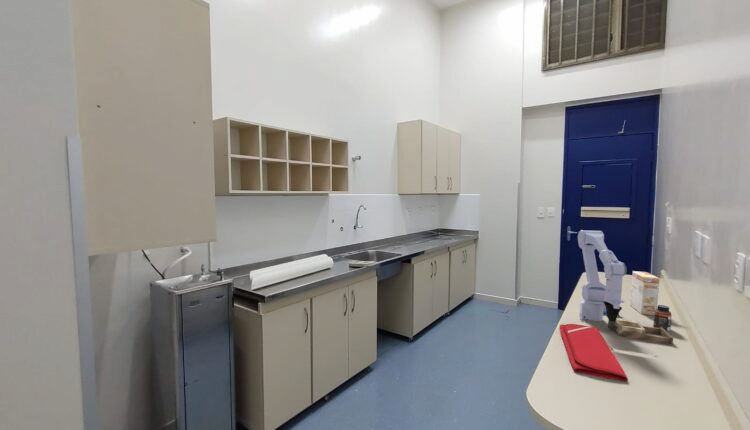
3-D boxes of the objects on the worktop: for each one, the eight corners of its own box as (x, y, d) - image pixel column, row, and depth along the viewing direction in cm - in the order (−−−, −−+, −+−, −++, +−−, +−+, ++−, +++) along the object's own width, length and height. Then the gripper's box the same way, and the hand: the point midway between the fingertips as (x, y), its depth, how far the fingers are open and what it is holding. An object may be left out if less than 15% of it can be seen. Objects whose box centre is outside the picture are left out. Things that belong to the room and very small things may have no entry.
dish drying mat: (572, 373, 117) (573, 362, 116) (558, 329, 155) (558, 321, 154) (628, 383, 111) (629, 372, 111) (598, 335, 149) (599, 326, 149)
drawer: (610, 333, 147) (611, 316, 146) (605, 326, 155) (606, 310, 154) (644, 339, 142) (646, 321, 141) (638, 331, 150) (639, 314, 149)
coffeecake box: (657, 316, 173) (660, 278, 172) (640, 314, 175) (643, 276, 174) (644, 306, 187) (647, 271, 186) (629, 305, 190) (631, 270, 188)
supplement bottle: (673, 334, 151) (675, 309, 150) (658, 332, 152) (660, 307, 151) (664, 328, 157) (666, 304, 156) (650, 327, 158) (652, 303, 157)
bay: (617, 340, 143) (617, 331, 142) (608, 326, 157) (609, 318, 157) (674, 349, 135) (675, 340, 135) (659, 334, 150) (660, 325, 149)
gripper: (629, 295, 141) (626, 327, 142) (620, 286, 154) (618, 316, 155) (608, 293, 144) (606, 324, 145) (601, 284, 157) (599, 313, 158)
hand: (611, 319), depth 150 cm, fingers closed on drawer, 3 cm apart
